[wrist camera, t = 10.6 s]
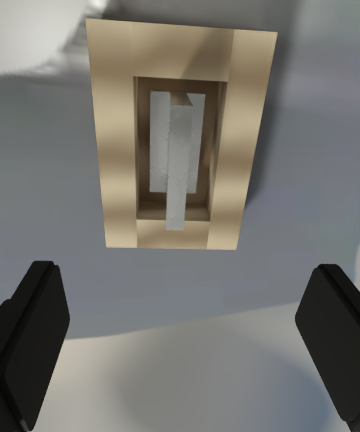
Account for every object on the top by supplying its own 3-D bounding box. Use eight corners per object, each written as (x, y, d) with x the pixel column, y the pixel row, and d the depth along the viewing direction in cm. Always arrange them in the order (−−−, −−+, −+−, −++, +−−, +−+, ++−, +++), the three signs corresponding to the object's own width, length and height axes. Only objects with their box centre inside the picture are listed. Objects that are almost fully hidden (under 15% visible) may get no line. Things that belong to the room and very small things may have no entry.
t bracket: (150, 89, 26) (144, 103, 19) (204, 92, 26) (218, 107, 19) (150, 188, 31) (145, 229, 24) (194, 189, 31) (203, 230, 24)
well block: (98, 24, 24) (85, 18, 20) (260, 35, 25) (277, 32, 21) (113, 224, 34) (106, 247, 30) (228, 227, 35) (236, 249, 31)
